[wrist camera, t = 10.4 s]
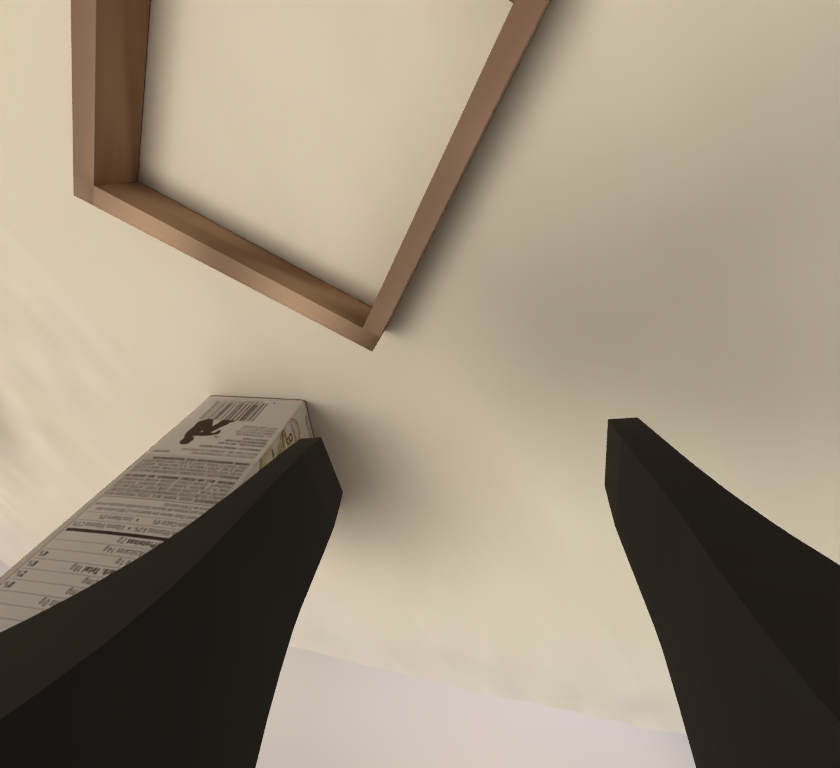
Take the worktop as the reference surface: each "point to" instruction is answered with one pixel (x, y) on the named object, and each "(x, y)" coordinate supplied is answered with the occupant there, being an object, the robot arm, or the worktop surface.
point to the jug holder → (210, 243)
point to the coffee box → (154, 499)
